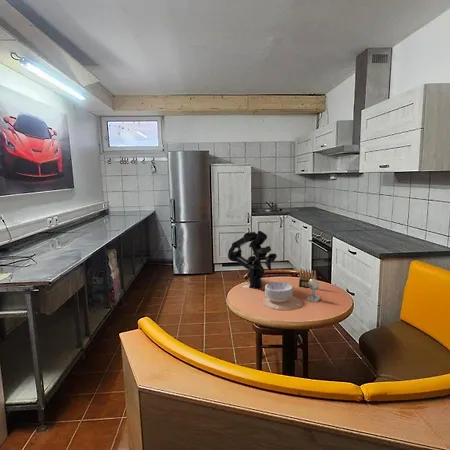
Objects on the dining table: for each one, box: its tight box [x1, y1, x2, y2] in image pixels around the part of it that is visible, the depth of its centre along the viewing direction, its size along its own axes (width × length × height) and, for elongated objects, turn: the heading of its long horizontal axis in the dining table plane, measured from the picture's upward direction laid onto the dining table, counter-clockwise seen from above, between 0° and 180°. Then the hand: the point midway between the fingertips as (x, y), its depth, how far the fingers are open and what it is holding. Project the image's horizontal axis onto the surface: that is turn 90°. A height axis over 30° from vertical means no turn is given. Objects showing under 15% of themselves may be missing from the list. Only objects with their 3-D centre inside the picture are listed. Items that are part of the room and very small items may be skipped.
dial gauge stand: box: [306, 278, 321, 303], centre depth 186 cm, size 6×6×12 cm
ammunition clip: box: [298, 268, 317, 289], centre depth 205 cm, size 11×2×12 cm, turn 59°
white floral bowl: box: [264, 281, 294, 303], centre depth 186 cm, size 15×15×8 cm
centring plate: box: [262, 295, 304, 311], centre depth 183 cm, size 22×22×1 cm
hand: (266, 271), depth 196 cm, fingers open, 5 cm apart
